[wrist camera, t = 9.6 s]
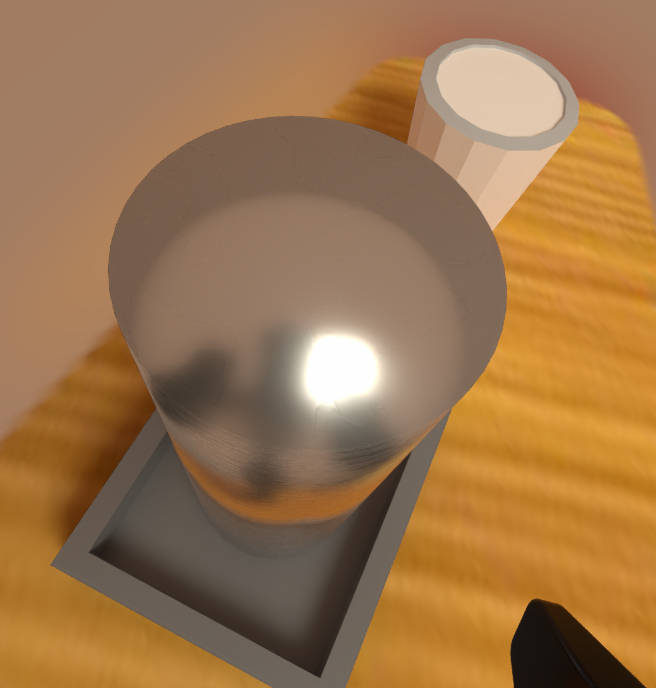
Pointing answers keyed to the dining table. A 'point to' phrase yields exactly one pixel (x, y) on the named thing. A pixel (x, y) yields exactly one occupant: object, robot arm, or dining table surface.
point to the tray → (241, 567)
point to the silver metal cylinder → (302, 316)
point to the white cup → (491, 118)
